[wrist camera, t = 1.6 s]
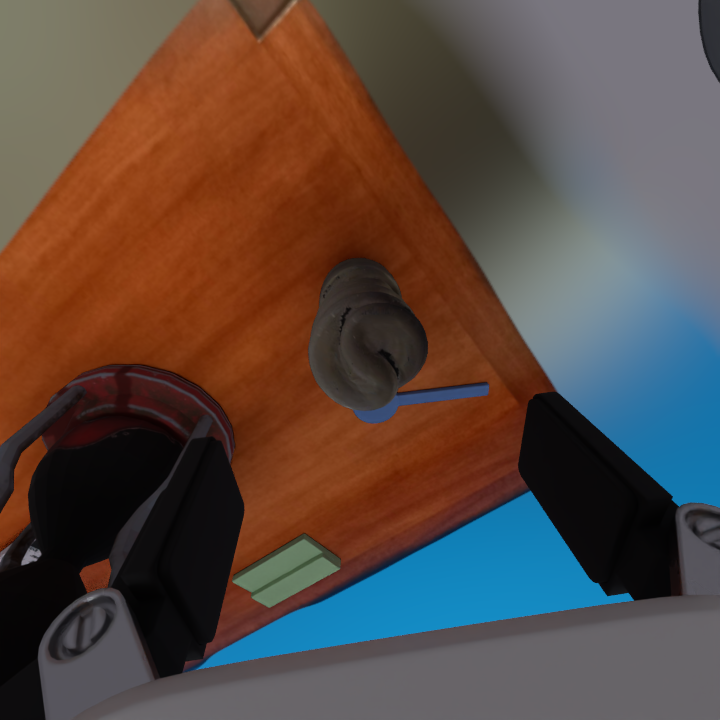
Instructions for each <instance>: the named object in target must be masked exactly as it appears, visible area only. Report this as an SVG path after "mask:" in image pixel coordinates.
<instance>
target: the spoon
mask: <svg viewBox="0 0 720 720" xmlns="http://www.w3.org/2000/svg"><path fill="white" fill-rule="evenodd" d="M488 389H489V384H488V383H487V382H486V383H478V384H470V385H461V386H453V387H445V388H436V389H428V390H420V391H411V392H403V393H396V395H395V397H394V398H393V399H392V401H391V402H390V403H389V404H387V405H386V406H384V407H382V408H379V409H376V410H372V411H360V410H353V411H354V413H355V415H356V416H357V417H358V418H359V419H360V420H362V421H364V422H367V423H380V422H384V421H386V420H388V419H389V418H391V417H392V416H393V415H394V414H395V412H396V410H397V408H398V406H402V405H410V404H418V403H426V402H435V401H443V400H451V399H459V398H468V397H476V396H484V395H488Z"/></svg>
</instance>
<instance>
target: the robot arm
mask: <svg viewBox="0 0 720 720" xmlns="http://www.w3.org/2000/svg"><path fill="white" fill-rule="evenodd" d="M518 468H519V472H520V475H521V477H522V478H523V480H524V481H525V483H526V484H527V486H528V487H529V489H530V490H531V492H532V493H533V495H534V496H535V498H536V499H537V500H538V502H539V503H540V505H541V506H542V508H543V510H544V511H545V512H546V514H547V516H548V517H549V519H550V520H551V521H552V523H553V525H554V526H555V528H556V529H557V531H558V532H559V533H560V535H561V536H562V538H563V540H564V541H565V543H566V544H567V545H568V547H569V548H570V550H571V551H572V553H573V554H574V556H575V557H576V559H577V560H578V562H579V563H580V565H581V566H582V568H583V569H584V571H585V572H586V574H587V575H588V577H589V578H590V579H591V580H592V581H593V582H595V583H599V585H600V586H601V588H602V589H603V591H604V592H605V593H606V595H607V596H611V595H618V594H624V593H629V594H630V595H631V597H632V598H633V599H634V601H629V602H621V603H614V604H606V605H598V606H592V607H585V608H578V609H572V610H565V611H558V612H552V613H545V614H538V615H532V616H525V617H518V618H512V619H506V620H498V621H492V622H485V623H480V624H472V625H466V626H459V627H454V628H447V629H441V630H434V631H427V632H422V633H415V634H408V635H402V636H396V637H389V638H383V639H377V640H370V641H364V642H358V643H351V644H345V645H340V646H333V647H327V648H321V649H315V650H308V651H302V652H296V653H290V654H283V655H278V656H271V657H265V658H259V659H254V660H248V661H243V662H238V663H232V664H227V665H221V666H215V667H210V668H204V669H199V670H194V671H190V672H186V673H182V671H183V668H184V664H185V661H192V660H198V659H203V656H204V652H205V648H206V644H207V643H209V642H212V640H213V638H214V636H215V633H216V629H217V625H218V620H219V616H220V612H221V608H222V604H223V600H224V595H225V591H226V587H227V583H228V579H229V575H230V570H231V566H232V562H233V558H234V554H235V550H236V546H237V541H238V537H239V533H240V529H241V525H242V521H243V516H244V502H243V499H242V497H241V494H240V491H239V488H238V485H237V482H236V480H235V477H234V474H233V471H232V468H231V466H230V463H229V460H228V457H227V454H226V451H225V449H224V446H223V443H222V441H221V440H217V441H216V439H215V438H214V437H213V436H209V437H201V438H194V439H192V440H191V441H190V443H189V444H188V446H187V448H186V450H185V452H184V454H183V456H182V458H181V460H180V462H179V464H178V466H177V468H176V470H175V472H174V474H173V476H172V478H171V479H170V481H169V483H168V485H167V487H166V489H164V490H163V491H162V492H161V493H160V495H159V496H158V498H157V500H156V502H155V504H154V506H153V507H152V509H151V511H150V513H149V515H148V517H147V519H146V521H145V523H144V525H143V526H142V528H141V530H140V532H139V534H138V536H137V538H136V540H135V542H134V544H133V545H132V547H131V549H130V551H129V553H128V555H127V557H126V559H125V561H124V563H123V564H122V566H121V568H120V570H119V572H118V574H117V576H116V578H115V580H114V582H113V583H112V585H111V587H110V588H101V589H98V590H95V591H92V592H89V593H87V594H86V595H84V596H82V597H80V598H78V599H77V600H75V601H74V602H73V603H72V604H70V605H69V606H68V607H67V608H65V609H64V610H63V611H62V612H61V613H60V614H59V615H58V617H57V618H56V619H55V620H54V621H53V622H52V624H51V625H50V627H49V628H48V629H47V631H46V632H45V634H44V636H43V638H42V641H41V643H40V646H39V652H38V658H36V659H35V660H34V661H33V662H31V663H30V664H29V665H27V666H26V667H25V668H24V669H22V670H21V671H20V672H18V673H17V674H16V675H15V676H13V677H12V678H11V679H9V680H8V681H7V682H6V683H4V684H3V685H2V686H0V720H720V508H718V507H716V506H712V505H708V504H704V503H687V504H683V505H681V506H680V507H679V506H678V505H677V504H675V503H674V502H673V501H672V497H673V496H671V494H669V493H668V492H667V491H666V490H665V489H664V488H663V487H662V486H660V485H659V484H658V483H657V482H656V481H655V480H654V479H653V478H652V477H651V476H650V475H648V474H647V473H646V472H645V471H644V470H643V469H642V468H641V467H640V466H638V465H637V464H636V463H635V462H634V461H633V460H632V459H631V458H630V457H628V456H627V455H626V454H625V453H624V452H623V451H622V450H621V449H620V448H619V447H617V446H616V445H615V444H614V443H613V442H612V441H611V440H610V439H609V438H607V437H606V436H605V435H604V434H603V433H602V432H601V431H600V430H599V429H598V428H596V427H595V426H594V425H593V424H592V423H591V422H590V421H589V420H588V419H586V418H585V417H584V416H583V415H582V414H581V413H580V412H578V410H576V409H575V408H574V407H573V406H572V405H571V404H570V403H569V402H568V401H567V400H565V399H564V398H563V397H562V396H561V395H560V394H559V393H557V392H548V393H540V394H536V395H534V397H533V399H531V400H529V402H528V407H527V413H526V419H525V425H524V432H523V438H522V444H521V450H520V456H519V462H518Z"/></svg>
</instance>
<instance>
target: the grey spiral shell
mask: <svg viewBox="0 0 720 720" xmlns="http://www.w3.org/2000/svg"><path fill="white" fill-rule="evenodd" d="M427 354H428V341H427V337H426V333H425V330H424V328H423V326H422V325H421V323H420V321H419V320H418V319H417V318H416V317H415V314H414V313H413V311H412V310H411V308H410V307H409V306H408V305H407V304H406V303H405V302H404V300H403V299H402V297H401V293H400V289H399V286H398V285H397V283H396V281H395V280H394V278H393V277H392V275H391V274H390V273H389V272H388V271H387V270H386V268H385V267H384V266H382V265H381V264H379V263H377V262H375V261H373V260H369V259H366V258H352V259H348V260H345V261H343V262H341V263H339V264H338V265H336V266H335V267H334V268H333V269H332V270H331V271H330V272H329V273H328V275H327V277H326V278H325V280H324V283H323V285H322V288H321V293H320V300H319V310H318V313H317V315H316V317H315V320H314V323H313V326H312V331H311V337H310V342H309V347H308V355H309V363H310V367H311V370H312V373H313V375H314V378H315V380H316V382H317V383H318V385H319V386H320V388H321V389H322V390H323V391H324V392H325V393H326V394H327V395H328V396H329V397H330V398H331V399H333V400H334V401H335V402H337V403H338V404H340V405H342V406H344V407H347V408H350V409H353V410H360V411H372V410H376V409H379V408H382V407H384V406H386V405H387V404H389V403H390V402H391V401H392V399H393V398H394V397H395V395H396V393H397V391H398V388H400V387H402V386H403V385H405V384H406V383H407V382H409V381H410V380H412V379H413V378H414V377H415V376H416V375H417V373H418V372H419V371H420V370H421V368H422V366H423V365H424V363H425V361H426V357H427Z"/></svg>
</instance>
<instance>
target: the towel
mask: <svg viewBox="0 0 720 720" xmlns="http://www.w3.org/2000/svg"><path fill="white" fill-rule="evenodd" d="M340 565H341V559H340V558H338V557H337V556H335V555H334V554H333V553H331V552H330V551H328V550H327V549H326V548H324V547H323V546H321V545H320V544H319V543H317V542H316V541H314V540H313V539H312V538H310V537H309V536H307V535H306V534H302V535H301V536H299V537H297V538H296V539H294V540H292V541H291V542H289V543H287V544H286V545H284V546H282V547H281V548H279V549H277V550H276V551H274V552H272V553H271V554H269V555H267V556H266V557H264V558H262V559H260V560H259V561H257V562H255V563H254V564H252V565H250V566H249V567H247V568H245V569H244V570H242V571H240V572H239V573H237V574H235V575H234V576H233V580H232V582H234V583H235V584H237V585H239V586H241V587H243V588H244V589H246V590H248V591H250V592H252V594H251V598H253V599H254V600H256V601H258V602H260V603H262V604H263V605H265V606H267V607H269V608H270V607H272V606H273V605H275V604H277V603H279V602H281V601H283V600H284V599H286V598H288V597H290V596H292V595H293V594H295V593H297V592H299V591H301V590H303V589H304V588H306V587H308V586H310V585H312V584H314V583H315V582H317V581H319V580H321V579H323V578H325V577H326V576H328V575H330V574H332V573H334V572H335V571H337V570H339V569H340Z"/></svg>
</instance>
